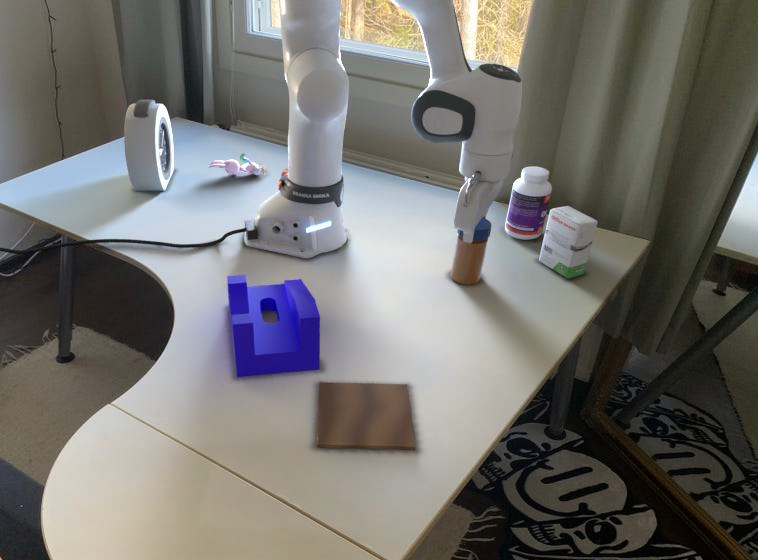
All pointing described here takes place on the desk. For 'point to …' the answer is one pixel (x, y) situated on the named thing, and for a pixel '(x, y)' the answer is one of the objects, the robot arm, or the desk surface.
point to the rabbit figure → (238, 166)
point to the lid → (480, 230)
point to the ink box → (567, 241)
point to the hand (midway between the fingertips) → (473, 233)
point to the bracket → (273, 327)
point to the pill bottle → (528, 204)
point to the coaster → (364, 416)
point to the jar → (468, 261)
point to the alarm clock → (148, 146)
